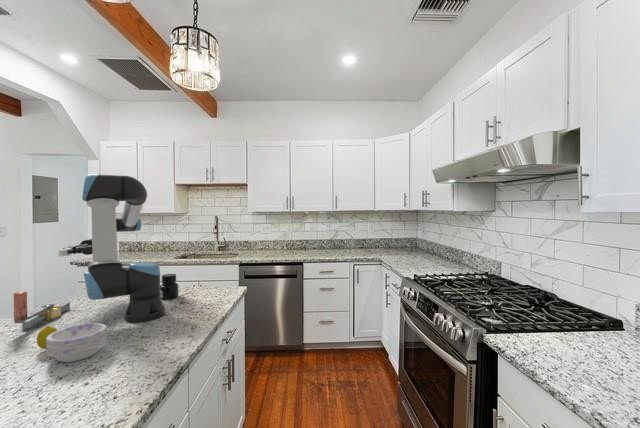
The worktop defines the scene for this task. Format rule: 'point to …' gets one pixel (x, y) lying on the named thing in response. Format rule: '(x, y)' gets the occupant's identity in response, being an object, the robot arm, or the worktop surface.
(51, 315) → the gray bar
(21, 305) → the lever
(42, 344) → the lemon
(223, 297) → the worktop surface
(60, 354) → the paper bowls
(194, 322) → the worktop surface
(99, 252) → the robot arm
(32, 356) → the worktop surface
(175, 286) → the ink bottle
